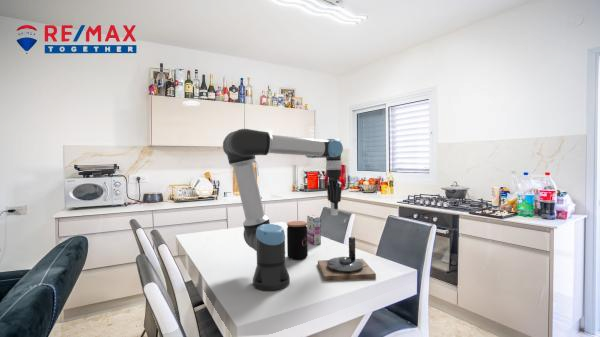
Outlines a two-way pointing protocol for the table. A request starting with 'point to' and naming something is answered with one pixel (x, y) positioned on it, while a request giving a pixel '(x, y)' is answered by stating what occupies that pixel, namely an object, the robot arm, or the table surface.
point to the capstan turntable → (346, 261)
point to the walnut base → (334, 275)
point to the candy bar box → (314, 229)
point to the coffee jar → (297, 240)
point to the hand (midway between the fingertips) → (334, 215)
